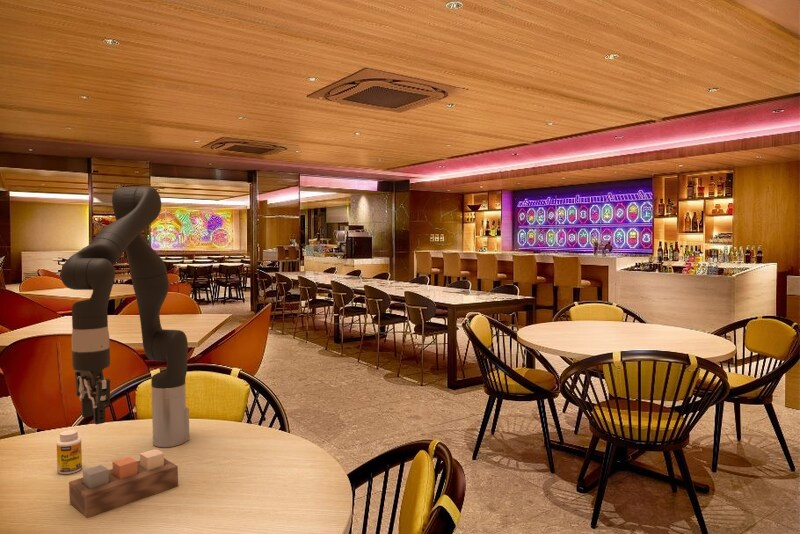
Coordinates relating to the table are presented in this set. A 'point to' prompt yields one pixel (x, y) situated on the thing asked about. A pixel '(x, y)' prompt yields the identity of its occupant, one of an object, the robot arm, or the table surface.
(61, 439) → the supplement bottle
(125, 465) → the terracotta key
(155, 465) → the ivory key
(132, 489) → the frame
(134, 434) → the table surface
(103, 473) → the slate key
